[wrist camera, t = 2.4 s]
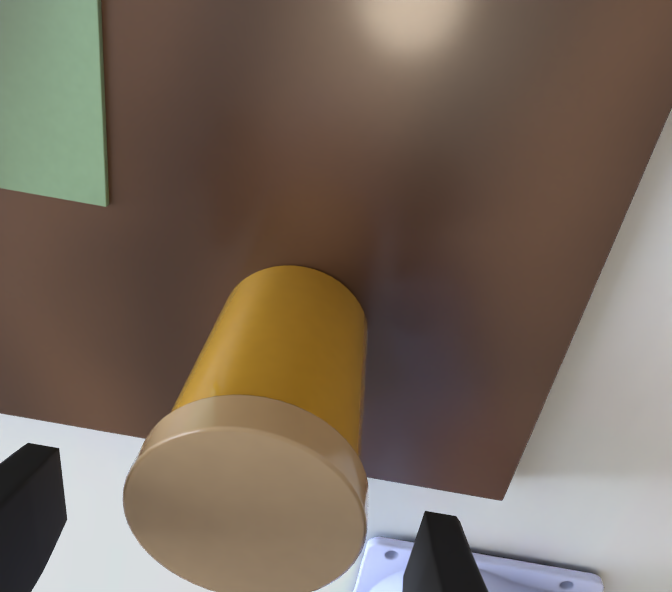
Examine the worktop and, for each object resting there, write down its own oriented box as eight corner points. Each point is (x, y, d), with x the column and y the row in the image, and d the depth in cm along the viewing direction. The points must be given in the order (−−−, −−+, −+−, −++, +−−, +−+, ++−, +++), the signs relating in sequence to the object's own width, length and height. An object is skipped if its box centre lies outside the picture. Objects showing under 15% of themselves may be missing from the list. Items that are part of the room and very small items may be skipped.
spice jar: (389, 274, 16) (389, 455, 10) (359, 405, 19) (344, 616, 12) (220, 244, 16) (116, 407, 10) (211, 379, 18) (124, 579, 12)
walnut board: (720, -68, 13) (755, -72, 12) (497, 475, 21) (504, 506, 20) (-266, -246, 13) (-336, -270, 11) (-99, 371, 21) (-130, 396, 20)
